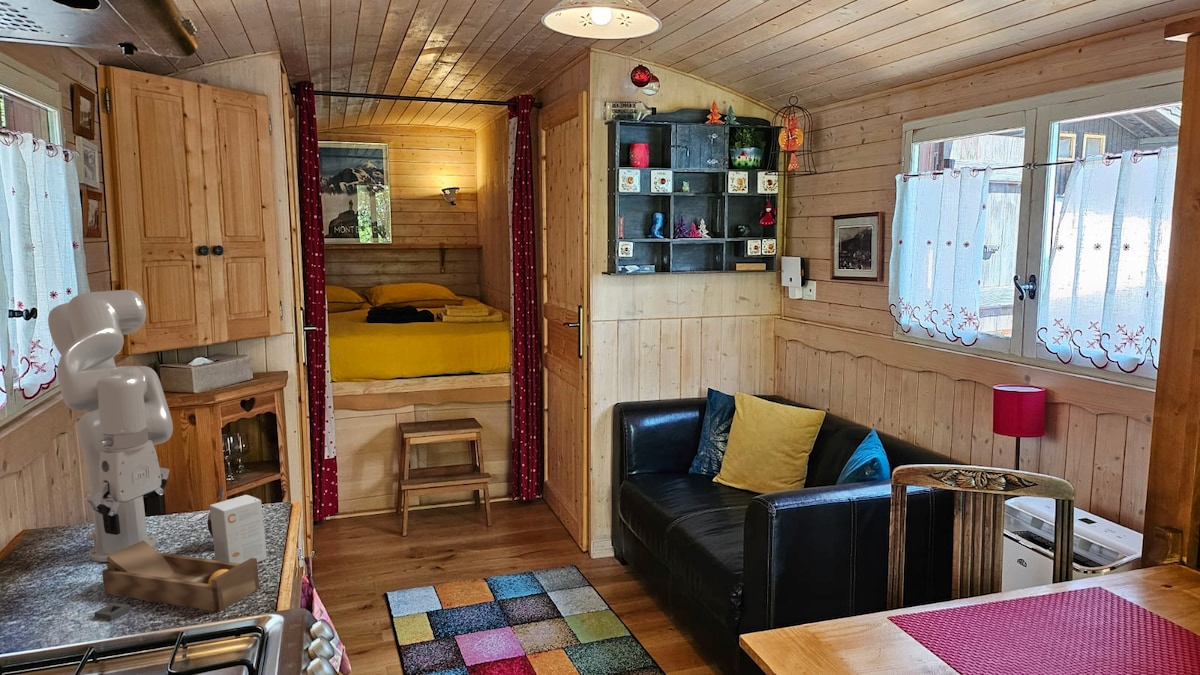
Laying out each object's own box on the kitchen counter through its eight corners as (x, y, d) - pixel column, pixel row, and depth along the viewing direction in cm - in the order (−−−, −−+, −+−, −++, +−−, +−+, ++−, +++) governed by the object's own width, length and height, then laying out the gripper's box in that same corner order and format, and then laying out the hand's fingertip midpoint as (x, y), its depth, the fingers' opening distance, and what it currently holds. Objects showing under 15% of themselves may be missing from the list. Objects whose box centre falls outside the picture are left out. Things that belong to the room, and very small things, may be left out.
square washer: (94, 617, 147) (94, 612, 147) (114, 607, 151) (113, 602, 151) (111, 620, 146) (110, 615, 146) (131, 610, 150) (130, 605, 149)
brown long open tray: (104, 593, 157) (100, 557, 156) (148, 571, 166) (144, 538, 165) (219, 612, 148) (215, 574, 147) (259, 588, 157) (256, 552, 156)
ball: (197, 585, 152) (213, 606, 152) (211, 570, 150) (227, 592, 150) (217, 574, 157) (233, 594, 156) (231, 559, 155) (247, 580, 155)
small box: (252, 552, 175) (247, 493, 173) (267, 559, 171) (262, 499, 169) (214, 565, 169) (208, 504, 167) (229, 573, 165) (223, 510, 163)
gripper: (99, 454, 147) (109, 544, 150) (177, 428, 163) (185, 509, 166) (68, 450, 149) (79, 538, 152) (148, 425, 166) (156, 505, 169)
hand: (134, 523), depth 159 cm, fingers open, 9 cm apart
